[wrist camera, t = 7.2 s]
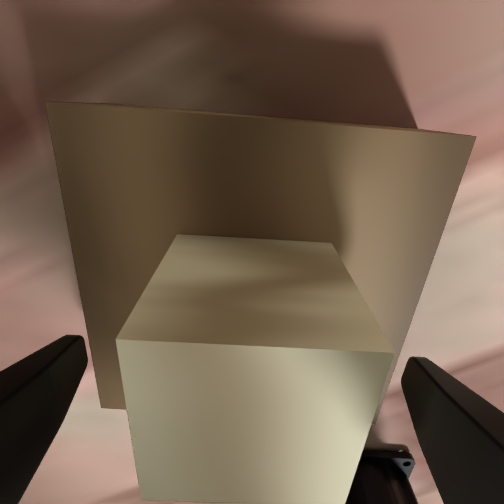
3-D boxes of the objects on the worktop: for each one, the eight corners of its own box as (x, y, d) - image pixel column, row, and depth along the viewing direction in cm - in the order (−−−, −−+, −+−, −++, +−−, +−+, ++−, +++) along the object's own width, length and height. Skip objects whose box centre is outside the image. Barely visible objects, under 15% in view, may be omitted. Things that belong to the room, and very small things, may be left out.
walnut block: (412, 127, 12) (476, 136, 9) (350, 358, 17) (374, 424, 14) (107, 103, 12) (44, 101, 9) (133, 344, 17) (101, 408, 14)
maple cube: (331, 242, 10) (394, 352, 6) (310, 359, 12) (343, 507, 8) (177, 234, 10) (115, 339, 6) (182, 353, 12) (141, 500, 8)
